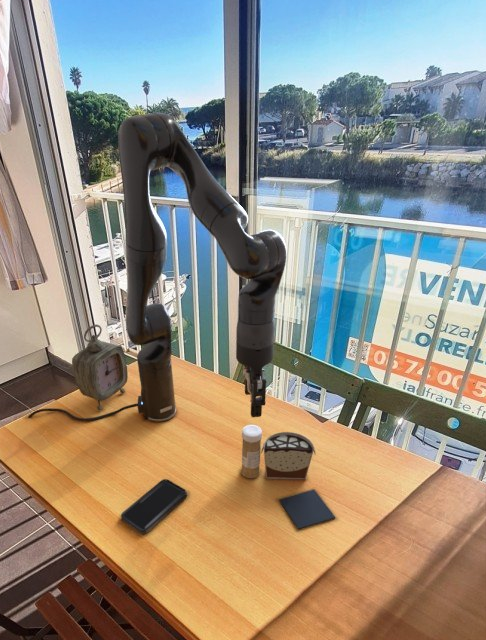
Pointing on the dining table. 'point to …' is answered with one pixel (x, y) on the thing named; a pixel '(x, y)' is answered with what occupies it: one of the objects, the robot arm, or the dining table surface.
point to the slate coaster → (306, 509)
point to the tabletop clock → (100, 369)
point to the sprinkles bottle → (251, 450)
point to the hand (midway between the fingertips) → (252, 404)
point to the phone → (154, 506)
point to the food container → (287, 456)
